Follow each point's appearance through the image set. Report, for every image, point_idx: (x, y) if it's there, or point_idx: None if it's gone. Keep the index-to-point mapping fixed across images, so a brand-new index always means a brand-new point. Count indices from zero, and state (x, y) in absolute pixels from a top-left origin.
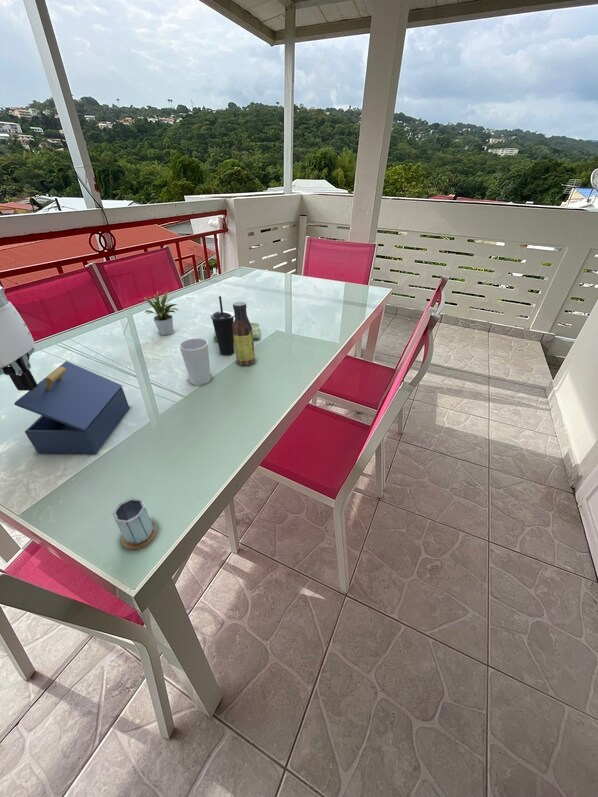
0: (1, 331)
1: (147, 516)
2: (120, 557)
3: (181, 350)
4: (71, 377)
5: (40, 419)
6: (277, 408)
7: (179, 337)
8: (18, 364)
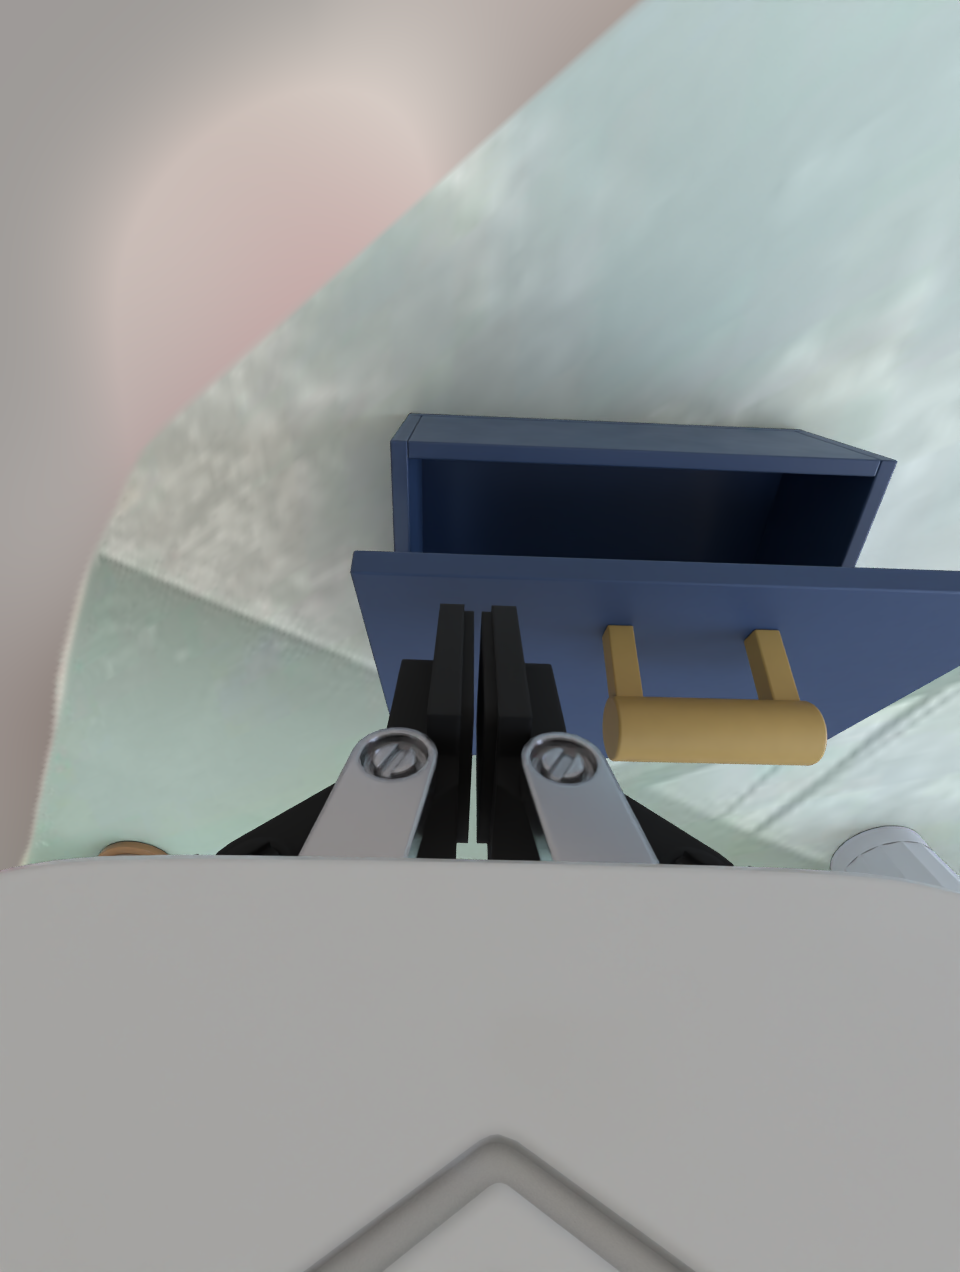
0: None
1: None
2: (74, 852)
3: None
4: (807, 662)
5: (515, 462)
6: None
7: None
8: (536, 851)
